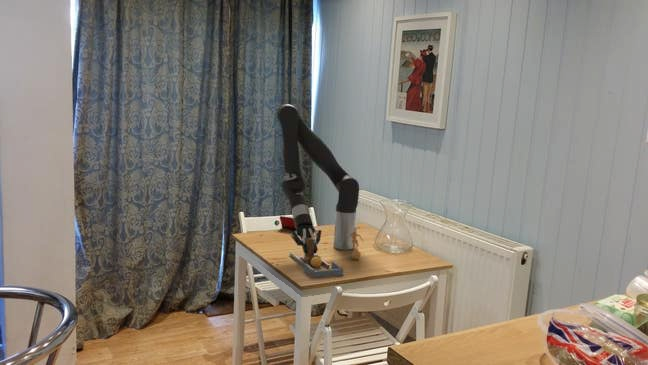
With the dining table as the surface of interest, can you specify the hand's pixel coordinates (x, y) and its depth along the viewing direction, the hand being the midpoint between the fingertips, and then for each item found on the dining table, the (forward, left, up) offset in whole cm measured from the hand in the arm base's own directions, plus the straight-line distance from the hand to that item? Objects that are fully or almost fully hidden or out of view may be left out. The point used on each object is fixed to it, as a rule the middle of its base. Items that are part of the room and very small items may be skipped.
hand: (311, 252), depth 236 cm
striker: (0, -1, -4) cm, 4 cm away
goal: (0, +12, -4) cm, 13 cm away
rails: (0, -2, -4) cm, 5 cm away
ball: (0, +5, -2) cm, 6 cm away
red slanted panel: (-13, -53, -5) cm, 55 cm away
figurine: (-21, -1, -5) cm, 22 cm away
